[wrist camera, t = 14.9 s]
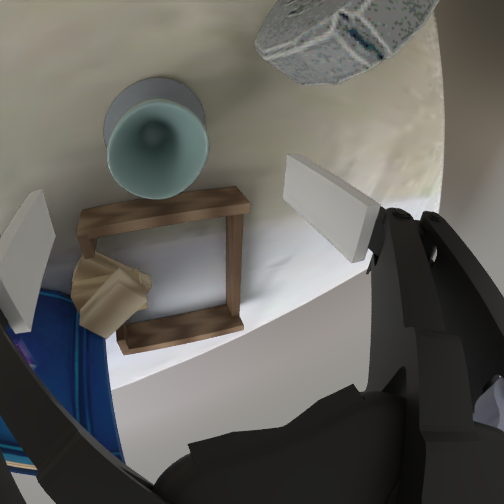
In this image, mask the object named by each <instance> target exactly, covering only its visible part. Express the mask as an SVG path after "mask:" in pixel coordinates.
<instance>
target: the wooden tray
mask: <svg viewBox="0 0 504 504" xmlns="http://www.w3.org/2000/svg"><path fill="white" fill-rule="evenodd" d="M245 213H250V202H249V201H248V200H247V199H246V197H245V196H244V195H243V194H242V193H241V192H240V190H239V189H238V188H237V187H236V186H233V187H224V188H216V189H207V190H199V191H192V192H184V193H179V194H177V195H175V196H172V197H170V198H165V199H147V198H144V199H138V200H132V201H126V202H121V203H115V204H110V205H105V206H99V207H94V208H89V209H84V210H82V213H81V216H80V220H79V223H78V226H77V230H76V233H77V236H78V240H79V243H80V246H81V250H82V253H83V256H84V259H91V258H95V250H96V243H97V237H103V236H108V235H113V234H119V233H124V232H130V231H135V230H141V229H147V228H153V227H159V226H165V225H171V224H177V223H183V222H190V221H196V220H203V219H209V218H216V217H223V216H226V305H222V306H217V307H213V308H208V309H203V310H199V311H194V312H189V313H184V314H179V315H174V316H169V317H164V318H159V319H154V320H148V321H143V322H138V323H132V324H127V325H126V322H124V323H123V324H122V325H121V326H120V327H119V328H118V329H117V330H116V338H117V343H118V345H119V347H120V349H121V351H122V353H123V355H129V354H135V353H140V352H146V351H151V350H156V349H161V348H166V347H171V346H176V345H181V344H186V343H190V342H195V341H199V340H204V339H208V338H213V337H217V336H221V335H225V334H229V333H233V332H237V331H241V330H244V325H243V322H242V320H241V318H240V316H239V311H240V284H241V258H242V234H243V214H245Z"/></svg>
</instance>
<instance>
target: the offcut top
mask: <svg viewBox="0 0 504 504" xmlns="http://www.w3.org/2000/svg"><path fill="white" fill-rule="evenodd" d="M147 301H148V299H147V291H146V286H145V285H144V284H142V283H141V282H139V281H138V280H136V279H135V278H133V277H132V276H130V275H129V274H127V273H126V272H124V271H123V270H121V269H120V268H118V269H117V270H116V271H115V272H114V273H113V274H112V275H111V276H110V277H109V278H108V280H107V281H106V282H105V283H104V284H103V285H102V286H101V287H100V288H99V289H98V290H97V291H96V293H95V294H94V295H93V296H92V297H91V298H90V299H89V300H88V301H87V303H86V304H85V305H84V306H83V307H82V308H81V309H80V321H79V325H81V326H82V327H84V328H86V329H88V330H90V331H92V332H94V333H96V334H98V335H100V336H101V337H103V338H105V339H107V338H108V337H109V336H110V335H112V334H113V333H114V332H115V331H116V330H117V329H118V328H119V327H120V326H121V325H122V324H123V323H124V322H125V321H126V320H128V319H129V318H130V317H131V316H132V315H133V314H134V313H135V312H136V311H137V310H138V309H139V308H141V307H142V306H143V305H144V304H145V303H146V302H147Z"/></svg>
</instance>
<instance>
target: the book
mask: <svg viewBox="0 0 504 504" xmlns="http://www.w3.org/2000/svg"><path fill="white" fill-rule="evenodd" d="M79 321H80V315H79V313H78V311H77V309H76V307H75V305H74V303H73V301H72V299H71V297H69V296H66V295H64V294H62V293H60V292H55V291H50V290H44V289H40V291H39V295H38V299H37V303H36V308H35V313H34V318H33V323H32V328H31V332H25V333H18V334H15V332H14V331H13V329H12V328H11V326H10V325H9V323H8V326H7V330H6V332H7V333H8V335H9V336H10V337H11V339H12V341H13V342H14V344H15V345H16V347H17V348H18V350H19V351H20V353H21V354H22V355H23V357H24V358H25V360H26V361H27V362H28V364H29V365H30V367H31V368H32V369H33V371H34V372H35V373H36V374H37V376H38V377H39V378H40V380H41V381H42V382H43V383H44V385H45V386H46V387H47V388H48V389H49V391H50V392H51V393H52V394H53V395H54V397H55V398H56V399H57V400H58V401H59V402H60V403H61V404H62V406H63V407H64V408H65V409H66V410H67V411H68V412H69V413H70V414H71V415H72V416H73V417H74V418H75V419H76V420H77V422H78V423H79V424H80V425H81V426H82V427H83V428H84V429H86V430H87V431H88V432H89V433H90V434H91V435H92V436H93V437H94V438H95V439H96V440H97V441H98V442H99V443H100V444H102V445H103V446H104V447H105V448H106V449H107V450H108V451H110V452H111V453H112V454H113V455H114V456H115V457H117V458H118V459H119V460H120V461H122V462H123V463H124V464H125V460H124V456H123V452H122V447H121V443H120V439H119V434H118V429H117V424H116V419H115V413H114V408H113V402H112V395H111V388H110V381H109V373H108V364H107V353H106V341H105V338H103V337H101V336H100V335H98V334H96V333H94V332H92V331H90V330H88V329H86V328H84V327H82V326H81V325H79ZM0 448H1V451H2V454H3V456H4V458H5V461H6V463H7V465H8V468H9V470H10V472H15V473H20V474H28V475H34V476H37V474H38V470H37V468H36V467H35V466H34V464H33V463H32V462H31V460H30V459H29V458H28V456H27V455H26V454H25V452H24V451H23V449H22V448H21V447H20V445H19V444H18V442H17V441H16V439H15V438H14V436H13V435H12V433H11V432H10V430H9V429H8V427H7V426H6V424H5V422H4V421H3V419H2V417H1V416H0ZM125 465H126V464H125Z"/></svg>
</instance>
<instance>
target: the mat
mask: <svg viewBox="0 0 504 504" xmlns="http://www.w3.org/2000/svg"><path fill="white" fill-rule="evenodd" d="M149 96H163V97H167V98H170V99H173V100H175V101H177V102H179V103H181V104H183V105H184V106H186V107H187V108H188V109H190V110H191V111H192V112H194V113H195V114H196V116H197V117H198V118H199V119H200V120H201V121H202V123H203V125H204V126H205V116H204V111H203V108H202V105H201V103H200V101H199V99H198V98H197V96H196V95H195V94H194V93H193V92H192V91H191V90H190V89H189V88H188V87H187V86H185V85H183V84H182V83H180V82H177V81H175V80H172V79H167V78H150V79H145V80H142V81H139V82H136V83H134V84H132V85H131V86H129V87H127V88H126V89H125V90H124V91H122V92H121V93H120V94H119V95H118V96H117V97H116V98H115V100H114V101H113V102H112V104H111V106H110V108H109V109H108V112H107V114H106V117H105V121H104V129H103V130H104V141H105V144H106V148H107V146H108V142H109V139H110V135H111V133H112V131H113V129H114V126H115V124H116V122H117V120H118V119H119V118H120V116H121V115H122V113H123V112H124V111H125V110H126V109H127V108H128V107H129V106H130V105H131V104H133V103H134V102H136V101H137V100H140V99H142V98H144V97H149Z"/></svg>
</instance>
